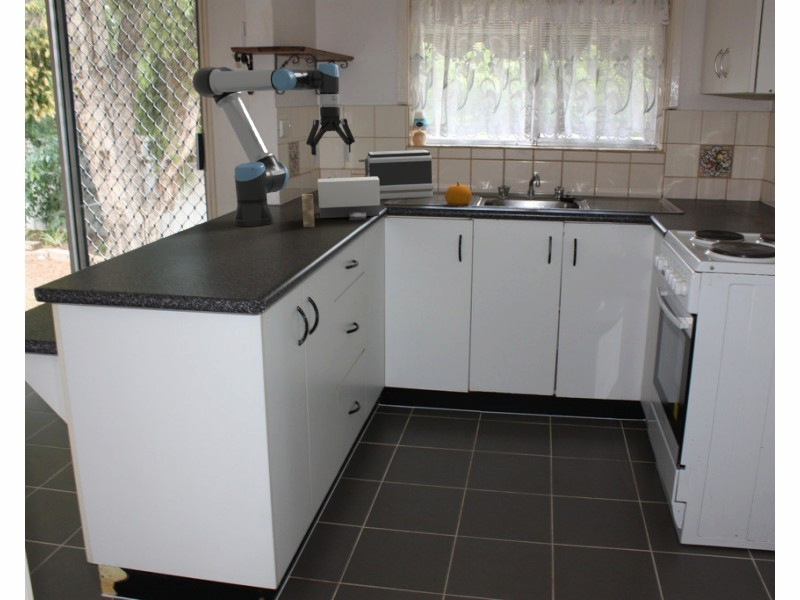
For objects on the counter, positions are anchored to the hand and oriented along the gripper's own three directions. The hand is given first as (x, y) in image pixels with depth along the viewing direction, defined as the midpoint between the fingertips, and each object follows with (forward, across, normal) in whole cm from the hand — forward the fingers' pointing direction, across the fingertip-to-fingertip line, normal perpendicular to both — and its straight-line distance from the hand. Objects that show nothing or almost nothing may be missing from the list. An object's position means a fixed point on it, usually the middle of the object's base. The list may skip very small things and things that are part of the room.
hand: (331, 162), depth 291 cm
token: (+23, +10, -2) cm, 25 cm away
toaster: (+23, +59, +42) cm, 76 cm away
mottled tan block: (+23, -10, +1) cm, 25 cm away
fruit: (+22, +62, -3) cm, 66 cm away
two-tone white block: (+23, +8, +1) cm, 24 cm away
